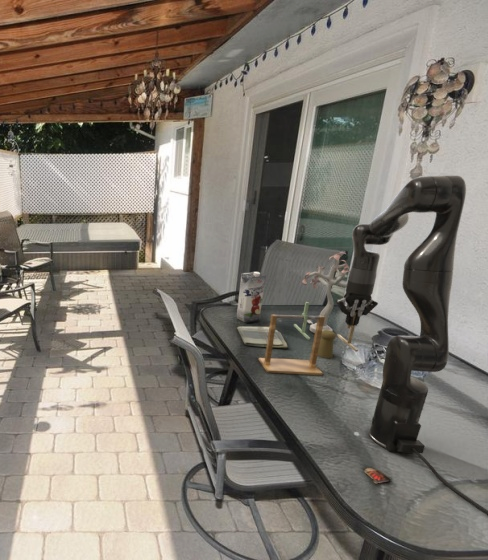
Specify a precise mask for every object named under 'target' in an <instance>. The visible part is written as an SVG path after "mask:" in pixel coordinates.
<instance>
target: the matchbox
mask: <svg viewBox="0 0 488 560" xmlns="http://www.w3.org/2000/svg"><path fill="white" fill-rule="evenodd" d="M363 471H364V473H365V474H367V476H368V477H370V479H372V482H373V483H374V484H376V485H378V483H379V484H381V483H386V482H389V481H391V480H392V478H390V477H389V476H388V475H387V474H385V473H384V472H382V471H380V470H378V469H374V468H372V467H367V468H365V470H363Z"/></svg>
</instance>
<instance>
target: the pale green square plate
mask: <svg viewBox="0 0 488 560" xmlns="http://www.w3.org/2000/svg"><path fill="white" fill-rule="evenodd" d="M269 327H270V326H238V327H237V328H236V329H237V331H238V333H239V336H240V338H241V340H242V342H243V344H244V345H245V346H249V347H258V348H267V341H268V334H269ZM288 348H289V346H288V344H287V342H286V340H285V338H284V337H283V335H282V333H281V331H278V330H277V329H275V334H274V341H273V347H272V349H286V350H287V349H288Z"/></svg>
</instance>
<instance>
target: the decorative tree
mask: <svg viewBox="0 0 488 560" xmlns="http://www.w3.org/2000/svg"><path fill="white" fill-rule="evenodd" d="M341 254H344V255H347V253H346V252H343V251H340V252H337V253H335V254H333V255H331V256H330V257H328V262H329V263H330V261H331V259H332V258H334V263H333V264H332V266H331V267H330V270H329V273H328V274H327V275H325V274H324V269H325V271H327V268H326V267H324V266H316V269H317V270H318V271H313V272H311V271H308V272H306V273H305V275H304V278H303V280H302V281H301V282H302V285H304V286H307V284H308V282H307V280H308V279H310V278H311V277H314V278H312V279H311V281H310V282H309V283H310V284H312V283H313V286H312V287H313V288H314V289H316V290H319V288H318V285H317V283H321V284H322V285H323V286H324V287H326V289H325V290H326V291H325V292H326V297H327V304H326V305H325V306H324V308H323V309H322V310H321V311H320V313H319V316H324V317H325V319H324V325H323V330H329V331H332V332H334V331H333V328H332V327H330V326H329V325H328V322H329V317H330V315H331V313H332V311H333V309H334V306H335V301H334V299H333V296H332V295H333V294H332V287H333V286H336V287H338V288H346V287H347V282H343V280H344V279H345V277H346V274H347V273H350V270H349V269H350V266H349V264H348V263H347V261H346V260H345V259H341ZM341 261H342V262H344V264H340V262H341ZM342 268H343V269H342ZM335 272H336V273H337V276H335ZM334 276H335V277H334ZM326 280H327V281H326ZM307 324H309V331H310V332H311V333H313V334H315V331H316V325H317V322H315V323H314V322H313V321H311V319H307ZM323 330H322V331H323Z"/></svg>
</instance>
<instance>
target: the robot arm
mask: <svg viewBox="0 0 488 560" xmlns="http://www.w3.org/2000/svg"><path fill="white" fill-rule="evenodd" d="M466 194H467V185H466V181H465V179H464V178H463V177H462V176H460V175H432V176H429V175H428V176H418V177H415V178H412V179H410V180H409V181H407V183H405V185H403V187H402V188H401V189H400V191H398V193H397V194H396V195H395V196H394V198H393V199H392V200H391V201H390V203H389V205H388V206H387V207H386V209H384V211H382V212H381V213H379V214H378V215H377V216H376V217H374V218H373V219H372V220H371V221H370V223H359V224H357V225H356V226H355V227H354V228H353V229H352V231H351V239H352V246H353V258H352V263H351V267H350V270H349V271H350V272H348V277H347V281H346V283H347V287H345V288H346V289H345V294H343V297H342V298H340V299H339V298H337V299H335V303H336V304H337V306H338V309H339V310H340V311H341V313H342V314H344V315H346V316H345V323H346V326H347V325H349V326H352V323H353V318H354V317H353V316H354V312H356V317H355V321H354V326H355V327H357V326H358V325H359V324H360V319H361V317H362V316H367V315H369V314H370V313H371V311H373V310H374V309H375V308H376V307H377V306H378V304H379V303H378V302H377V301H375V300H374V299H373V298H372V295H373V293H374V288H375V284H376V279H377V274H378V266H379V262H380V258H381V257H380V254H379V252H376V251H373V250H369V249H366V245H369V246H370V245H372V246H383V245H386V244H388V243H390V242H391V240H392V238H393V236H394V234H395V233H397V232H398V231H401V230H402V229H403V228H404V227H406V225H407V224H408V222H409V219H410V215H409V214H410V213H415V214H416V213H417V214H427V213H428V214H429V213H432V214H433V213H435V216H434V221H433V224H432V227H431V229H430V232H429V233H428V234H427V236H426V237H425V238H424V239H423V240H422V242H421V243H420V244H419V245H418V246H416V248H415V249H414V250H413V251H412V252H411V253H410V254H409V255H408V257H407V258H406V260H405V262H404V264H403V273H402V275H403V276H402V282H401V283H402V284H401V285H402V289H403V292H404V294H405V295H406V298H407V299H408V301H409V302H410V303H411V305H412V306H413V308H414V309H415V311H416V313H417V315H418V317H419V321H420V322H419V323H420V333H419V336H417V335H416V336H415V335H395V336H393V337H391V338H390V340H389V341H388V344H387V346H386V351H385V356H384V362H383V367H382V381H381V386H380V389H379V393H378V398H377V401H376V405H375V408H374V413H373V415H372V419H371V421H370V422H371V423H370V428H369V431H368V437H369V438H370V439H371V441H373V442H374V443H376V444H377V445H378V446H380V447H382V448H384V449H386V451H387V452H392V453H407V454H415V455H416V456H417V457H418V458H419V459H420V460H421V461H422V462H423V463H424V464H425V465H426V466H427V467H428V468H429V470H430V471H431V472H432V474H433V475H434V476H435V477H436V478H437V479H438V480H439V481H441V482H442V484H444V485H445V486H446V487H447V488H449V489H450V490H451V491H452V492H454V493H456V494H457V495H458V496H459V497H461V498H463V499H464V500H465V501H467V502H469V503H470V505H473V506H474V507H475V508H477V509H478V510H480V511H482V512H483V513H484V514H486V515H488V509H487V508H485V507H483V506H482V505H481V504H479V503H477V502H476V501H475V500H473V499H471V498H470V497H469V496H467V495H465V494H464V493H463V492H461V491H460V490H458V489H457V488H456V487H455V486H453V485H451V484H450V483H449V482H448V481H447V480H446V479H445V478H444V477H442V476H441V475H440V473H438V472H437V470H436V469H435V468H434V467H433V465H432V464H431V463H430V462H429V461H428V460H427V459H426V458H425V457H424V456H423V455H422V454H424V450H425V447H426V446H425V444H424V443H422V441H420V440H419V439H418V437H419V435H420V431H421V428H422V425H421V423H420V419H421V416H422V412H423V409H424V406H425V403H426V400H427V397H428V394H429V387H428V386H427V384H426V383H425V382H423V381H422V380H421V379H418V378H417V377H415V376H412V372H425V373H426V372H427V373H428V372H429V373H438V372H441V371H443V370H444V369H445V368H446V366H447V363H448V360H449V356H450V355H449V353H450V352H449V351H450V350H449V349H450V348H449V344H450V343H449V341H450V340H449V309H450V299H451V290H452V286H453V284H452V283H453V278H454V277H453V276H454V264H455V254H456V253H455V251H456V245H457V238H458V232H459V227H460V223H461V218H462V214H463V209H464V204H465V201H466V196H467V195H466Z"/></svg>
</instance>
